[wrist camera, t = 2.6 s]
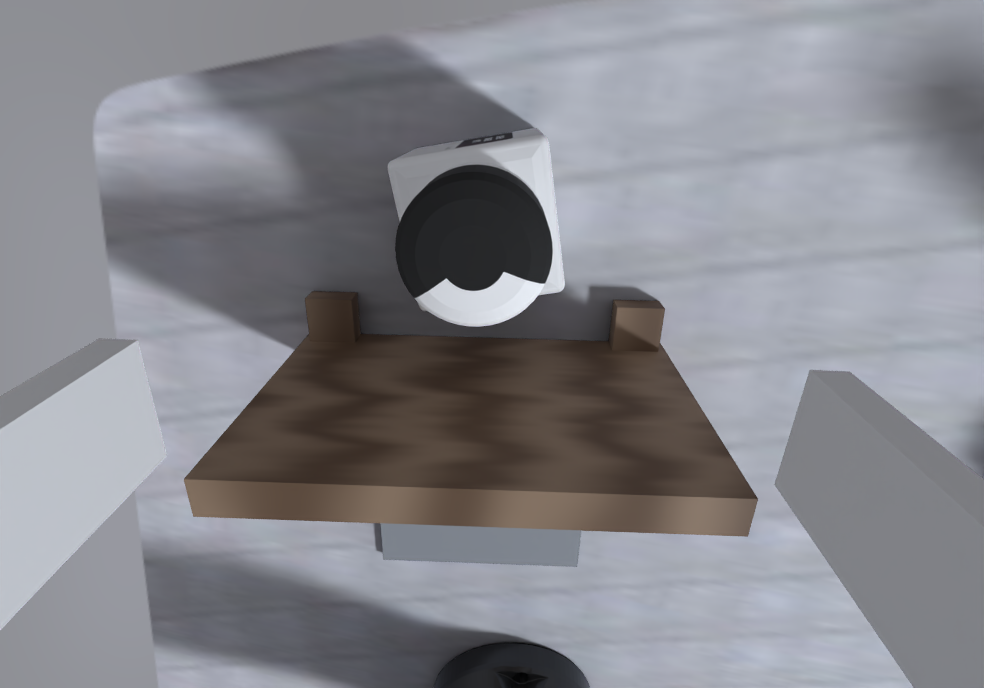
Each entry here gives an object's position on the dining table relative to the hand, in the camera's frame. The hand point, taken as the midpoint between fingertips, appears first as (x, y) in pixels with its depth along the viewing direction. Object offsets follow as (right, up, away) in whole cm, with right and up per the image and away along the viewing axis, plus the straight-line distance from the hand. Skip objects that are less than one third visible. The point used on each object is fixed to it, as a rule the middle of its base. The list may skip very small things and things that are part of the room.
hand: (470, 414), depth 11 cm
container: (0, +10, +23) cm, 25 cm away
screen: (0, +1, +27) cm, 27 cm away
